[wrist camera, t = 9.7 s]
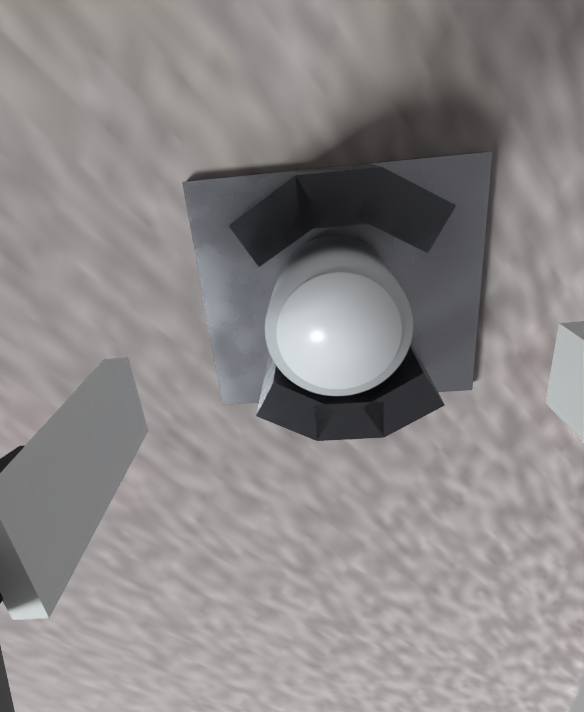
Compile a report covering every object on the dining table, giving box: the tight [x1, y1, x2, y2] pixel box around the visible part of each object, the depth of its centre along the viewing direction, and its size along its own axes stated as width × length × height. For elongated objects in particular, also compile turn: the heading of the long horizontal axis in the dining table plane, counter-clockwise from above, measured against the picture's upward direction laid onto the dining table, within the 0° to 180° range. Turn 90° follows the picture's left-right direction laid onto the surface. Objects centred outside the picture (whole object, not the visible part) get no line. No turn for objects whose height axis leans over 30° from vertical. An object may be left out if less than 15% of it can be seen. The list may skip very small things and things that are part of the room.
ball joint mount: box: [182, 152, 493, 441], centre depth 21 cm, size 14×12×5 cm
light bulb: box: [265, 235, 413, 396], centre depth 20 cm, size 6×6×5 cm
